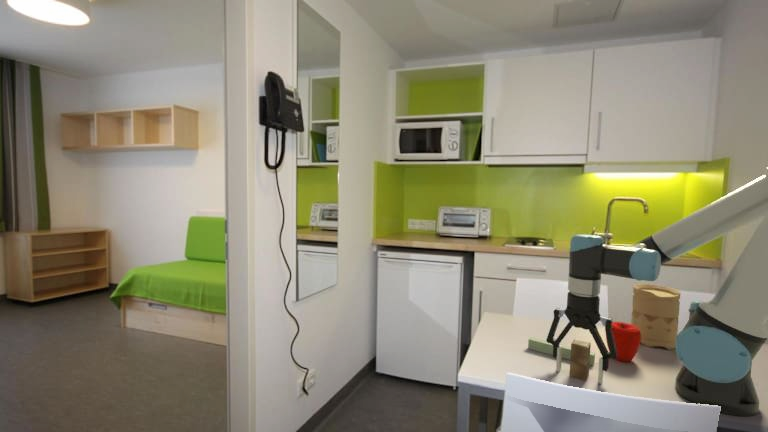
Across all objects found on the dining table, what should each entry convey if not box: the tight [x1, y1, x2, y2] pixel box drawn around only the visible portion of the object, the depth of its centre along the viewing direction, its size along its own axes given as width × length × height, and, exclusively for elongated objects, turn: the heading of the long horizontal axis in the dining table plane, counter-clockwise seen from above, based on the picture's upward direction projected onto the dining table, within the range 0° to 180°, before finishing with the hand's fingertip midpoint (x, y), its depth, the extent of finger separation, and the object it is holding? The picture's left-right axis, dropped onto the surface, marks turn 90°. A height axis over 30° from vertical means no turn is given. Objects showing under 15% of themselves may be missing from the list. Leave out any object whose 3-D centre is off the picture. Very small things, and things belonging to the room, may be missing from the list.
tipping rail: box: [527, 336, 596, 366], centre depth 112 cm, size 18×2×3 cm, turn 53°
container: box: [630, 283, 681, 351], centre depth 124 cm, size 13×13×18 cm
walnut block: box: [569, 338, 592, 382], centre depth 100 cm, size 4×4×9 cm
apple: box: [605, 321, 642, 363], centre depth 111 cm, size 9×9×11 cm
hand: (578, 375), depth 100 cm, fingers open, 9 cm apart
